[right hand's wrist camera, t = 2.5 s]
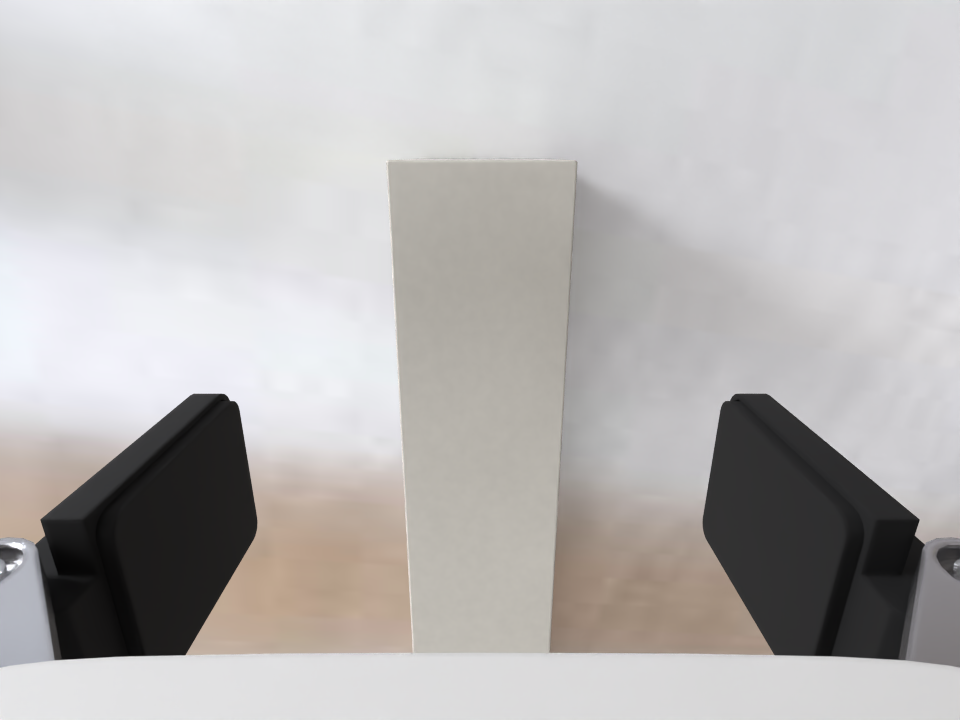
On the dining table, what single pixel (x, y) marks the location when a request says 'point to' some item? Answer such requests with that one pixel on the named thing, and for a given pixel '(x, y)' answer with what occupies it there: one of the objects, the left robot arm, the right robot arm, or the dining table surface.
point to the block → (481, 392)
